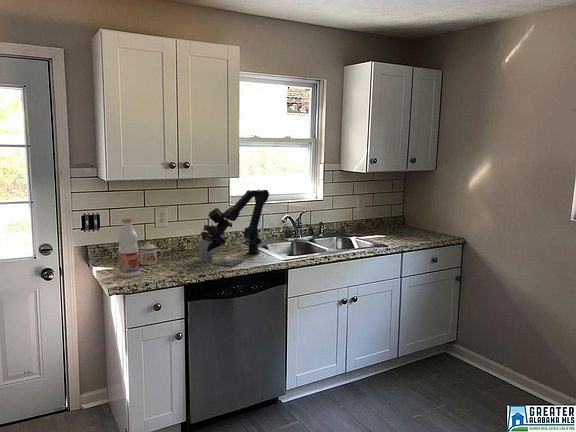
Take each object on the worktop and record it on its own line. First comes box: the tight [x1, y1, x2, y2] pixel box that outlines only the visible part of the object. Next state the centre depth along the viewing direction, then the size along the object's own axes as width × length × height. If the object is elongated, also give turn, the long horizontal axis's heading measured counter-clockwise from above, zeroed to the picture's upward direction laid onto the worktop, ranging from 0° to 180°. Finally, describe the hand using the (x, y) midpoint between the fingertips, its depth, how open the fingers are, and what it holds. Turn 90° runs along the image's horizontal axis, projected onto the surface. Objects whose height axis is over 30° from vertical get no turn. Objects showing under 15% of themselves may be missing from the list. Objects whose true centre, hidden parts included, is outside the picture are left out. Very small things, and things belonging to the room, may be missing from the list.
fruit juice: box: [117, 218, 140, 278], centre depth 235 cm, size 9×9×28 cm
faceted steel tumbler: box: [198, 238, 214, 264], centre depth 266 cm, size 7×7×12 cm
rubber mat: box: [210, 256, 244, 268], centre depth 263 cm, size 13×13×3 cm
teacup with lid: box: [139, 242, 163, 266], centre depth 261 cm, size 12×9×12 cm
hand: (203, 250), depth 265 cm, fingers closed on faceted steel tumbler, 7 cm apart
